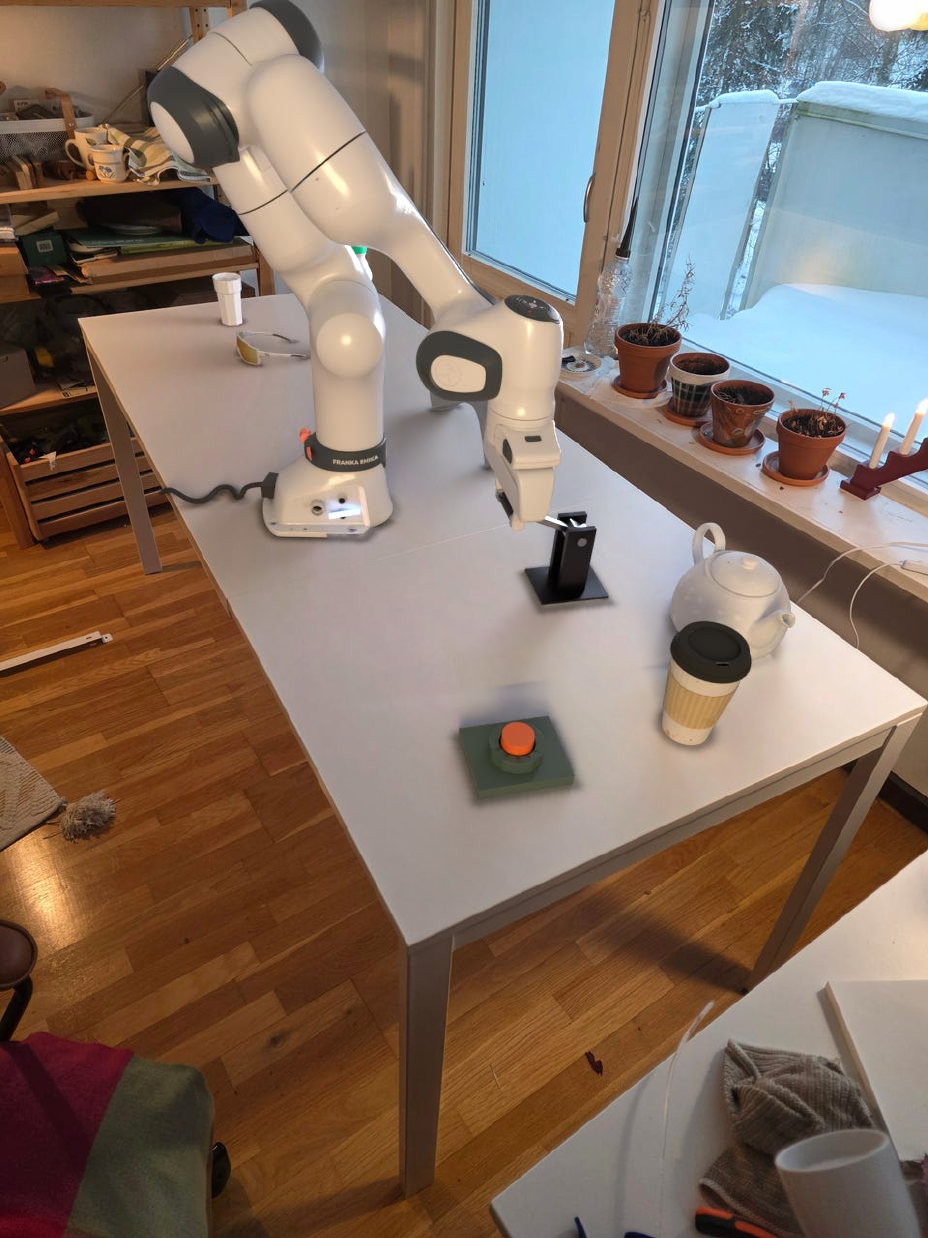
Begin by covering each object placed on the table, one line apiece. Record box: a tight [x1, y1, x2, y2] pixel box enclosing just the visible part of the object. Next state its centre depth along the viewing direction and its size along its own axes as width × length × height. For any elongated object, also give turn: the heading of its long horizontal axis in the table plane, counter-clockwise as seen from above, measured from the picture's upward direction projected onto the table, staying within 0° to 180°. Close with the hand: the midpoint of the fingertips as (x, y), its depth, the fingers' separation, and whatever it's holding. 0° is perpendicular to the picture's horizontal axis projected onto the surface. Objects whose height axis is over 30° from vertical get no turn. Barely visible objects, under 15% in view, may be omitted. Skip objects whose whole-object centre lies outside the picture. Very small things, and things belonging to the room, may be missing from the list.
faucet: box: [429, 391, 492, 468], centre depth 161 cm, size 6×17×30 cm
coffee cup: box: [661, 621, 753, 746], centre depth 102 cm, size 10×10×15 cm
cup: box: [211, 271, 243, 327], centre depth 200 cm, size 7×7×11 cm
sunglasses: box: [235, 329, 308, 366], centre depth 189 cm, size 14×15×5 cm
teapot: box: [669, 522, 796, 661], centre depth 119 cm, size 19×18×14 cm
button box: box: [458, 715, 575, 800], centre depth 99 cm, size 12×10×4 cm
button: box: [501, 722, 535, 756], centre depth 98 cm, size 4×4×2 cm
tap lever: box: [499, 493, 587, 536], centre depth 118 cm, size 14×6×2 cm, turn 104°
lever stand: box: [524, 510, 610, 606], centre depth 124 cm, size 11×9×13 cm
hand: (509, 513), depth 115 cm, fingers closed on tap lever, 6 cm apart
